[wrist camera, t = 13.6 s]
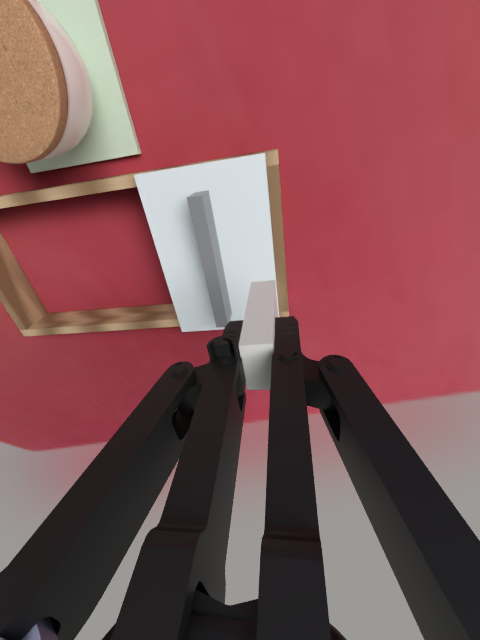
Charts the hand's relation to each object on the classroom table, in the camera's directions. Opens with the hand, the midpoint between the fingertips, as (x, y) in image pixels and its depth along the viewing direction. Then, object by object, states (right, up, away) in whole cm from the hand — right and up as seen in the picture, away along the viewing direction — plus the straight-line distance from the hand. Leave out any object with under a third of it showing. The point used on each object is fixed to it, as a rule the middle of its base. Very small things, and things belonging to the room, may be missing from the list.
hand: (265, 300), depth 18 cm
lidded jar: (-18, +19, +7) cm, 27 cm away
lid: (-4, +5, +9) cm, 11 cm away
